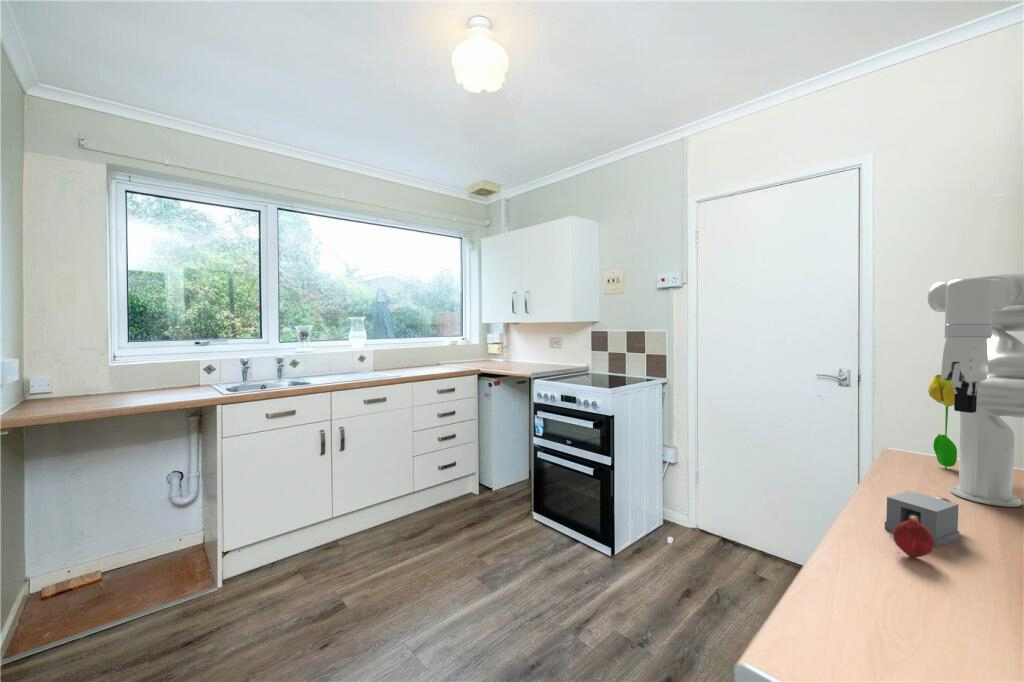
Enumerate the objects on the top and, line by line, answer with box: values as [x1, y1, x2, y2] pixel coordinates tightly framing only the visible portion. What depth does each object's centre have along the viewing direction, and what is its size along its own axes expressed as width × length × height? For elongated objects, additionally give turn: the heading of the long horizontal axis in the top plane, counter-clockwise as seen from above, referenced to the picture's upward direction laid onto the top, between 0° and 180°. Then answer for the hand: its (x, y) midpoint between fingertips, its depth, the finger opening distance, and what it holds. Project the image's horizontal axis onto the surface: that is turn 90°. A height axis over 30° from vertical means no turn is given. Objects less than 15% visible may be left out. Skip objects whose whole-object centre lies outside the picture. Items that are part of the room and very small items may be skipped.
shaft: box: [907, 496, 952, 523], centre depth 94 cm, size 13×5×5 cm, turn 114°
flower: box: [927, 374, 958, 469], centre depth 136 cm, size 9×8×30 cm
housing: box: [884, 490, 961, 548], centre depth 93 cm, size 9×9×7 cm
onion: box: [892, 516, 935, 559], centre depth 83 cm, size 6×6×8 cm
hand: (965, 411), depth 100 cm, fingers closed
